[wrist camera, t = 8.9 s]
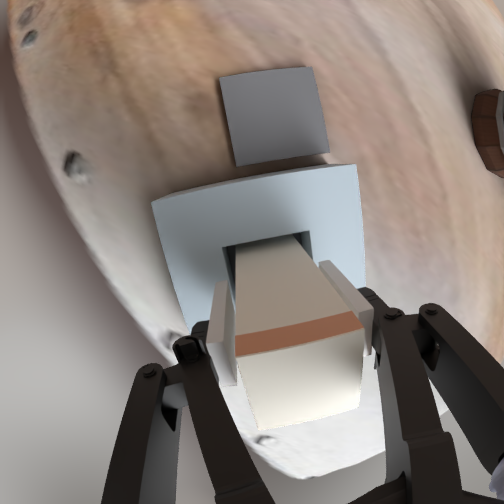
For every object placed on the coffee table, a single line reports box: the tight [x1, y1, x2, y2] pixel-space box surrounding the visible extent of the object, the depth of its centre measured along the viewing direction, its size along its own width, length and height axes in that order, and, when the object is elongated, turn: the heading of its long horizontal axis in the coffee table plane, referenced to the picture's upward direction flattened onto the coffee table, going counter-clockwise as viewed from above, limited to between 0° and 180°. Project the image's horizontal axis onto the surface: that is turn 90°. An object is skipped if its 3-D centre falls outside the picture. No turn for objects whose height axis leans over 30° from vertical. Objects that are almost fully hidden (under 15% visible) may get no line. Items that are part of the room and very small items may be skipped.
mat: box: [219, 67, 330, 167], centre depth 21 cm, size 8×8×1 cm
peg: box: [235, 234, 365, 431], centre depth 16 cm, size 4×4×14 cm
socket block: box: [151, 164, 366, 335], centre depth 22 cm, size 14×14×6 cm
